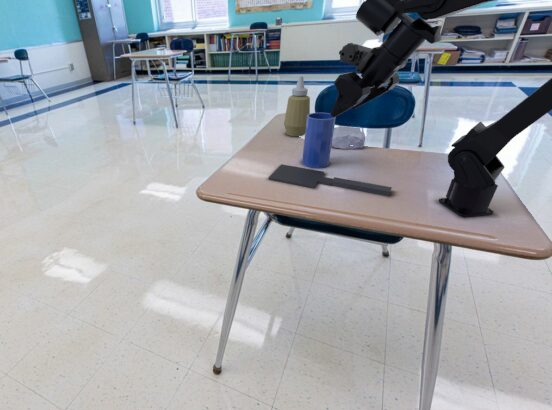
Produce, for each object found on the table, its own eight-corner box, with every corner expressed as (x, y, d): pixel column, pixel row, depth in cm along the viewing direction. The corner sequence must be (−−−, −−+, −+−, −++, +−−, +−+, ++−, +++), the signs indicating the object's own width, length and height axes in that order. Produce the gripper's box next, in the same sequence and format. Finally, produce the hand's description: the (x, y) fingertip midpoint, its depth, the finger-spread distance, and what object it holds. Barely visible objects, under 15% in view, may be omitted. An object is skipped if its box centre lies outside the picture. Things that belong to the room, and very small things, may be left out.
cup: (332, 166, 84) (340, 118, 78) (307, 169, 84) (313, 120, 78) (322, 157, 90) (328, 111, 84) (298, 159, 90) (303, 113, 84)
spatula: (392, 185, 74) (393, 181, 73) (387, 203, 67) (388, 198, 67) (281, 166, 86) (281, 162, 86) (268, 179, 80) (268, 175, 79)
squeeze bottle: (311, 132, 109) (318, 75, 101) (303, 139, 104) (310, 79, 95) (288, 129, 113) (292, 74, 104) (279, 136, 108) (283, 78, 99)
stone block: (330, 154, 96) (367, 148, 93) (328, 138, 94) (366, 132, 91) (325, 142, 107) (359, 137, 104) (324, 127, 105) (358, 122, 102)
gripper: (384, 23, 71) (338, 82, 83) (341, 28, 60) (295, 95, 72) (424, 55, 68) (370, 112, 80) (386, 66, 57) (330, 130, 69)
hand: (342, 111), depth 76 cm, fingers open, 9 cm apart
